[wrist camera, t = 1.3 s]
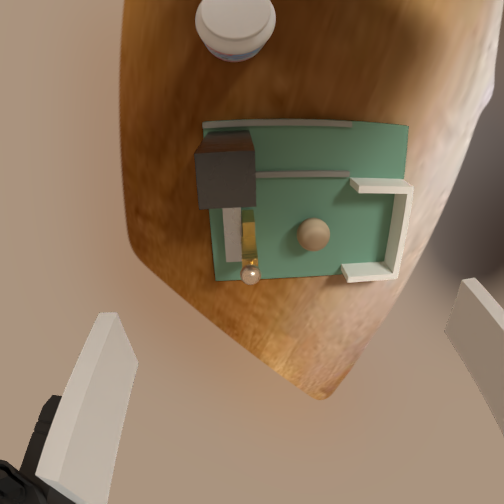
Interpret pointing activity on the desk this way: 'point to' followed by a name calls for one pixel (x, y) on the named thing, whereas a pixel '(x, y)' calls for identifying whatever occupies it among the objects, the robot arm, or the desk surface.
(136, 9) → the desk surface
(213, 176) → the block
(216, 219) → the board
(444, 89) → the desk surface
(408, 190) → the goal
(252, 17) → the pill bottle
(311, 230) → the ball
